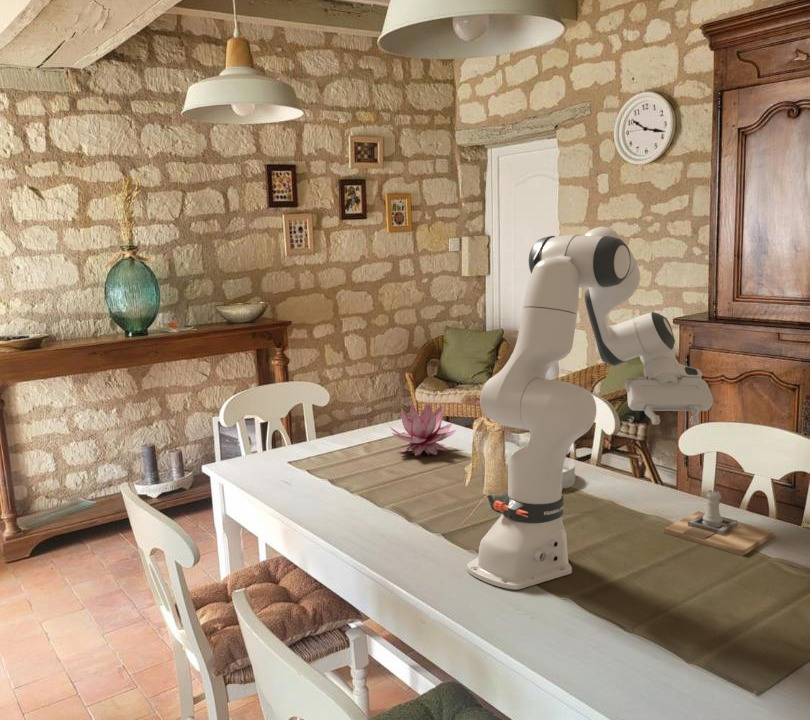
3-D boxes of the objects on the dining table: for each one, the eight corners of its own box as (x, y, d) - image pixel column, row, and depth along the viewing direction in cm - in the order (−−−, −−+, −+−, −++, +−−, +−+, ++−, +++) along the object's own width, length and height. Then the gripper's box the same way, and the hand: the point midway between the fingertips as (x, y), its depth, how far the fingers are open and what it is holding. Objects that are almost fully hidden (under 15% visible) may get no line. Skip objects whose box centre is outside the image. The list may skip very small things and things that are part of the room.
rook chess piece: (705, 520, 175) (706, 487, 174) (725, 524, 172) (726, 491, 171) (699, 526, 171) (701, 492, 170) (719, 530, 169) (721, 496, 167)
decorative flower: (385, 446, 250) (384, 402, 248) (446, 442, 254) (446, 399, 252) (395, 463, 229) (395, 415, 227) (462, 459, 233) (463, 412, 231)
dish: (576, 494, 199) (576, 476, 199) (493, 490, 204) (493, 472, 203) (574, 470, 221) (574, 454, 220) (499, 467, 225) (499, 451, 225)
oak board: (742, 556, 158) (743, 546, 158) (664, 532, 171) (664, 523, 171) (774, 536, 168) (774, 527, 168) (698, 516, 182) (698, 507, 181)
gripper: (625, 369, 185) (636, 415, 176) (707, 370, 185) (722, 416, 177) (619, 384, 190) (629, 430, 181) (699, 384, 190) (712, 430, 182)
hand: (676, 423), depth 179 cm, fingers open, 8 cm apart
